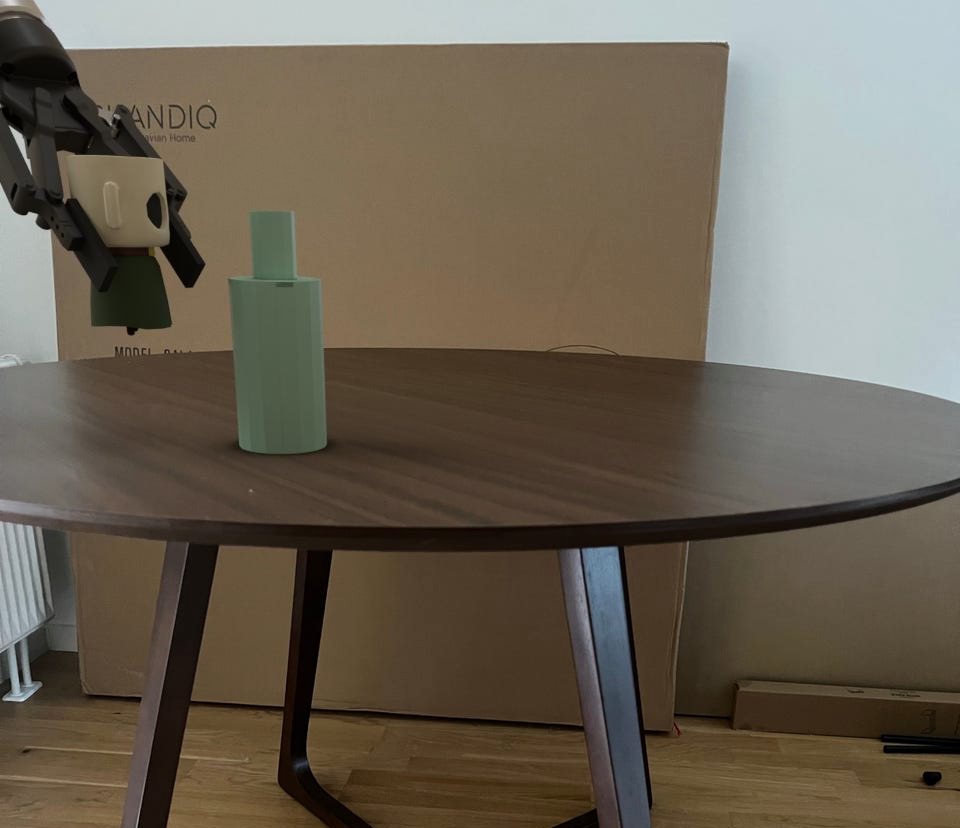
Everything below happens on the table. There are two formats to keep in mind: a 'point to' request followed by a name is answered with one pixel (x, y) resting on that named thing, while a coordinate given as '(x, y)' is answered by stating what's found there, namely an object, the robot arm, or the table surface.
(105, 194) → the character mug
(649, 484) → the table surface
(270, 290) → the bottle
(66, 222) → the robot arm
